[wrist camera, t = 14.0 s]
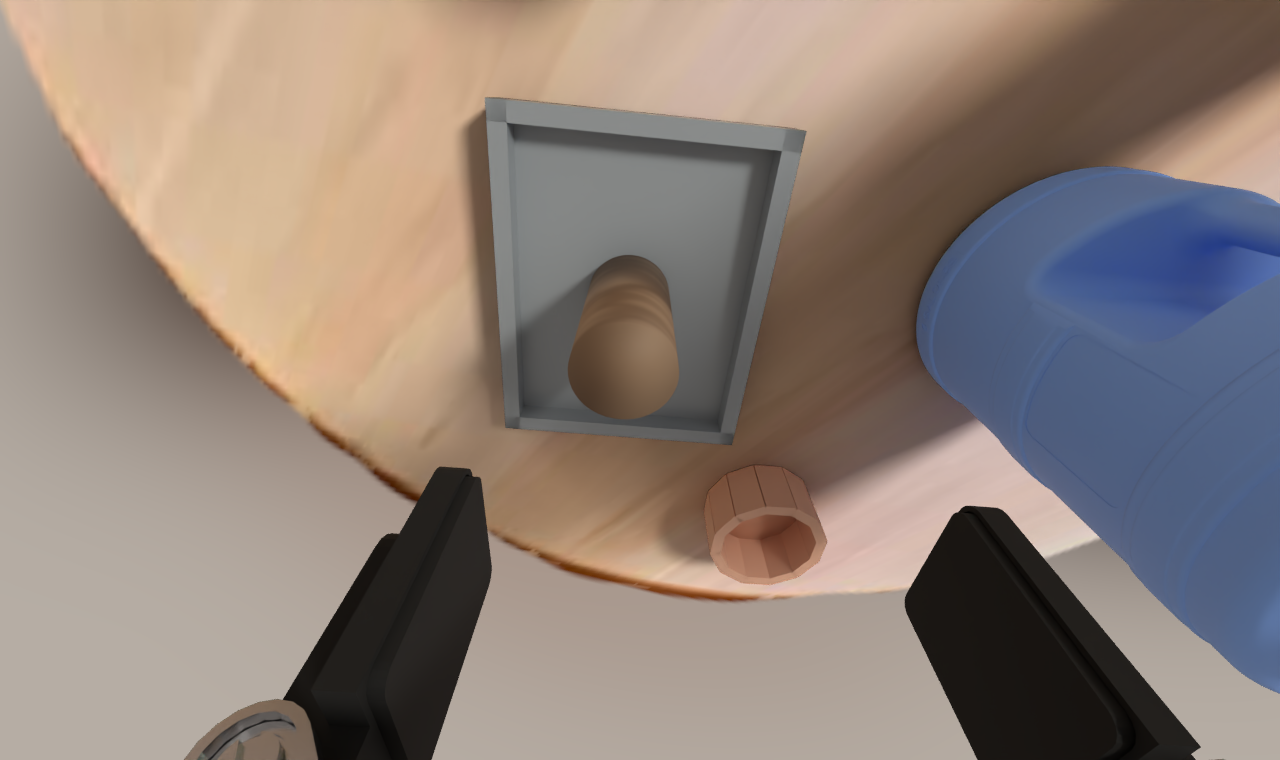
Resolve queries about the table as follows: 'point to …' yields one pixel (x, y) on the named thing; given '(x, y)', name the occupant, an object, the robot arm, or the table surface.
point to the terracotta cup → (762, 525)
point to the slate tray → (633, 250)
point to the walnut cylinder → (625, 341)
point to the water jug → (1134, 378)
